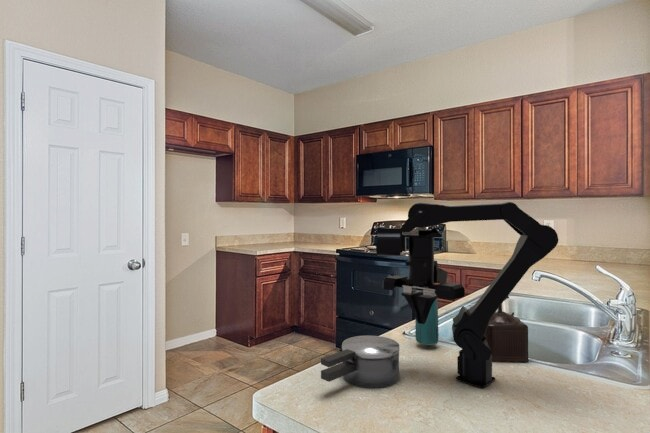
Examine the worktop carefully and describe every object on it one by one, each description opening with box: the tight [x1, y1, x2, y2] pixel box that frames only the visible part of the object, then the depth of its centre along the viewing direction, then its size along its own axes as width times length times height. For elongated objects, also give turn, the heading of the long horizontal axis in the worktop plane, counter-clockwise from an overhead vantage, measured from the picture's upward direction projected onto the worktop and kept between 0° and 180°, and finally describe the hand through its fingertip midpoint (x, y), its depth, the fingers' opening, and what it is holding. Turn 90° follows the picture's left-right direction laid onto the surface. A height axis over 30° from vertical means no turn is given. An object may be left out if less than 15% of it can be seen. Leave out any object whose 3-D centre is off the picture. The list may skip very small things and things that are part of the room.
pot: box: [320, 352, 400, 389], centre depth 88 cm, size 14×21×6 cm, turn 133°
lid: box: [320, 335, 400, 368], centre depth 88 cm, size 13×21×1 cm, turn 133°
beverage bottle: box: [414, 287, 440, 346], centre depth 111 cm, size 6×7×20 cm
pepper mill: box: [484, 295, 530, 364], centre depth 106 cm, size 16×11×18 cm
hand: (421, 323), depth 91 cm, fingers closed
